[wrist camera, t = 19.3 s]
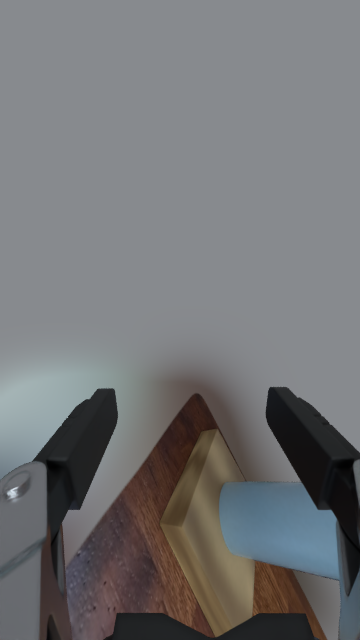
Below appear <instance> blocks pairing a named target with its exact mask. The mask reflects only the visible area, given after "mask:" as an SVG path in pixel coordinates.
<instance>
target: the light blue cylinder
mask: <svg viewBox="0 0 360 640" xmlns="http://www.w3.org/2000/svg"><path fill="white" fill-rule="evenodd" d="M219 518H220V525H221V530H222V534H223V538H224V541H225V543H226V546H227V548H228V550H229V551H230V552H231V553H232V554H233V555H234V556H237V557H242V558H246V559H250V560H254V561H258V562H263V563H267V564H271V565H275V566H279V567H283V568H288V569H292V570H296V571H300V572H304V573H309V574H313V575H317V576H321V577H325V578H329V579H334V580H338V581H339V569H338V554H337V540H336V521H337V518H336V517H335V515H334V513H333V512H332V510H318V509H317V508H316V506H315V504H314V503H313V501H312V499H311V497H310V496H309V494H308V492H307V491H306V489H305V487H304V485H303V484H302V482H247V481H227V482H225V483H224V485H223V486H222V489H221V492H220V498H219Z"/></svg>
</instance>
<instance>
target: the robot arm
mask: <svg viewBox="0 0 360 640" xmlns="http://www.w3.org/2000/svg"><path fill="white" fill-rule="evenodd" d="M117 418H118V411H117V403H116V396H115V390H114V389H97V391H96V392H95V393H94V394H93V396H92V397H91V399H86V400H85V401H83V402H82V403H81V404H79V405H78V406H76V407H75V409H74V410H73V411H72V412H71V414H70V415H69V416H68V418H67V419H66V420H65V421H64V422H63V424H62V426H60V427H59V429H58V430H57V431H56V432H55V434H54V435H53V436H52V437H51V438H50V440H49V441H48V442H47V444H46V445H45V446H44V447H43V448H42V450H41V451H40V452H39V453H38V455H37V456H36V457H35V458H34V460H33V461H32V462H29V463H26V464H24V465H21V466H19V467H18V468H15V469H14V470H12V471H11V472H9V473H8V474H7V475H5V476H4V477H3V478H2V479H1V480H0V640H72V631H71V624H70V618H69V612H68V603H67V591H66V575H65V560H64V545H63V529H62V521H63V520H64V517H65V515H66V513H67V511H68V510H80V508H81V506H82V503H83V501H84V499H85V496H86V494H87V492H88V489H89V487H90V485H91V483H92V480H93V478H94V476H95V473H96V471H97V469H98V466H99V464H100V462H101V459H102V457H103V455H104V453H105V450H106V448H107V445H108V443H109V441H110V439H111V436H112V434H113V432H114V429H115V427H116V424H117ZM266 419H267V423H268V425H269V427H270V429H271V430H272V432H273V434H274V436H275V437H276V439H277V441H278V443H279V444H280V446H281V448H282V449H283V451H284V453H285V454H286V456H287V458H288V460H289V461H290V463H291V465H292V466H293V468H294V470H295V472H296V473H297V475H298V477H299V478H300V480H301V482H302V484H303V485H304V487H305V489H306V491H307V492H308V494H309V496H310V497H311V499H312V501H313V503H314V504H315V506H316V508H317V509H318V510H332V512H333V513H334V515H335V517H336V518H337V521H336V540H337V554H338V569H339V582H340V598H341V609H340V620H339V637H338V640H360V453H359V452H358V451H357V450H356V449H355V448H354V447H353V446H352V445H351V444H350V443H349V442H348V441H347V440H346V439H345V438H344V437H343V436H342V435H341V434H340V433H339V432H338V431H337V430H336V429H335V428H334V427H333V426H332V425H330V424H329V422H328V421H327V420H326V419H325V418H324V417H323V416H321V414H320V413H319V412H318V411H317V410H316V409H315V408H314V407H313V406H312V405H310V404H309V403H307V402H306V401H304V400H303V399H301V398H297V397H296V396H295V395H294V394H293V393H292V392H291V391H290V390H289V389H288V388H287V387H270V388H269V391H268V398H267V406H266ZM104 640H319V639H318V638H316V637H314V636H313V633H312V630H311V627H310V625H309V622H308V619H307V616H306V614H298V613H259V614H257V615H255V616H253V617H252V618H250V619H248V620H246V621H245V622H243V623H241V624H239V625H237V626H236V627H234V628H232V629H230V630H229V631H227V632H225V633H223V634H222V635H220V636H218V637H215V638H210V637H207V636H205V635H204V634H202V633H200V632H198V631H196V630H194V629H192V628H190V627H188V626H186V625H184V624H183V623H181V622H179V621H177V620H175V619H173V618H171V617H169V616H167V615H165V614H163V613H117V616H116V621H115V626H114V632H113V634H112V635H110V636H108V637H106V638H105V639H104Z"/></svg>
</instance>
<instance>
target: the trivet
mask: <svg viewBox="0 0 360 640" xmlns="http://www.w3.org/2000/svg"><path fill="white" fill-rule="evenodd" d="M227 481H245V479H244V477H243V475H242V473H241V472H240V470H239V468H238V466H237V464H236V462H235V460H234V459H233V457H232V455H231V453H230V451H229V449H228V447H227V446H226V444H225V442H224V440H223V438H222V436H221V434H220V433H219V431H218V429H213V430H207V431H202V432H201V433H200V436H199V438H198V440H197V442H196V444H195V446H194V449H193V451H192V453H191V455H190V457H189V459H188V462H187V464H186V466H185V468H184V470H183V472H182V475H181V477H180V479H179V481H178V483H177V485H176V487H175V490H174V492H173V494H172V496H171V498H170V500H169V503H168V505H167V507H166V509H165V511H164V513H163V516H162V518H161V520H160V522H159V524H160V526H161V528H162V530H163V532H164V534H165V536H166V538H167V540H168V542H169V544H170V547H171V549H172V551H173V553H174V555H175V557H176V559H177V561H178V563H179V565H180V567H181V569H182V571H183V573H184V575H185V577H186V579H187V581H188V583H189V585H190V587H191V589H192V591H193V593H194V595H195V597H196V599H197V601H198V603H199V605H200V607H201V609H202V611H203V613H204V615H205V617H206V619H207V621H208V623H209V625H210V627H211V629H212V631H213V633H214V635H215V637H218V636H220V635H222V634H223V633H225V632H227V631H229V630H230V629H232V628H234V627H236V626H237V625H239V624H241V623H243V622H245V621H246V620H248V619H250V618H252V608H253V590H254V571H255V561H254V560H250V559H246V558H242V557H237V556H234V555H233V554H232V553H231V552H230V551H229V550H228V548H227V546H226V543H225V541H224V538H223V534H222V530H221V525H220V518H219V498H220V492H221V489H222V486H223V485H224V483H225V482H227Z"/></svg>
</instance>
